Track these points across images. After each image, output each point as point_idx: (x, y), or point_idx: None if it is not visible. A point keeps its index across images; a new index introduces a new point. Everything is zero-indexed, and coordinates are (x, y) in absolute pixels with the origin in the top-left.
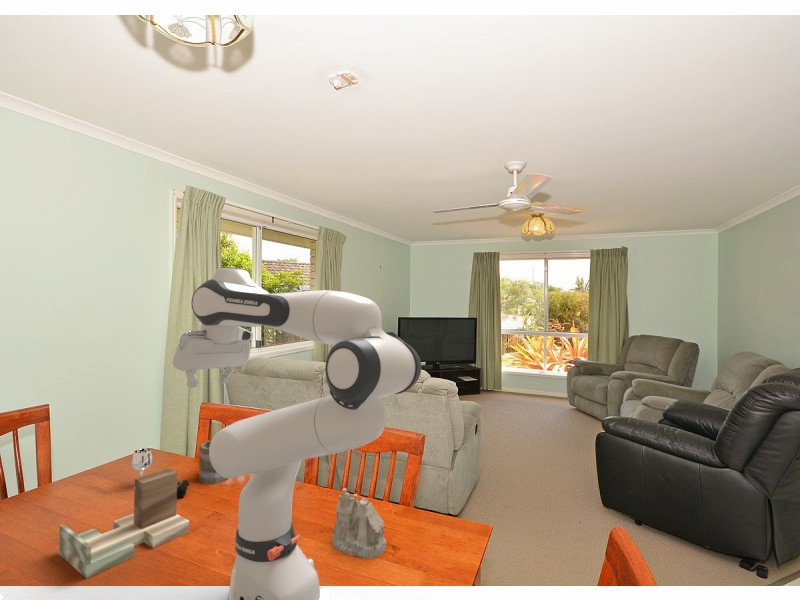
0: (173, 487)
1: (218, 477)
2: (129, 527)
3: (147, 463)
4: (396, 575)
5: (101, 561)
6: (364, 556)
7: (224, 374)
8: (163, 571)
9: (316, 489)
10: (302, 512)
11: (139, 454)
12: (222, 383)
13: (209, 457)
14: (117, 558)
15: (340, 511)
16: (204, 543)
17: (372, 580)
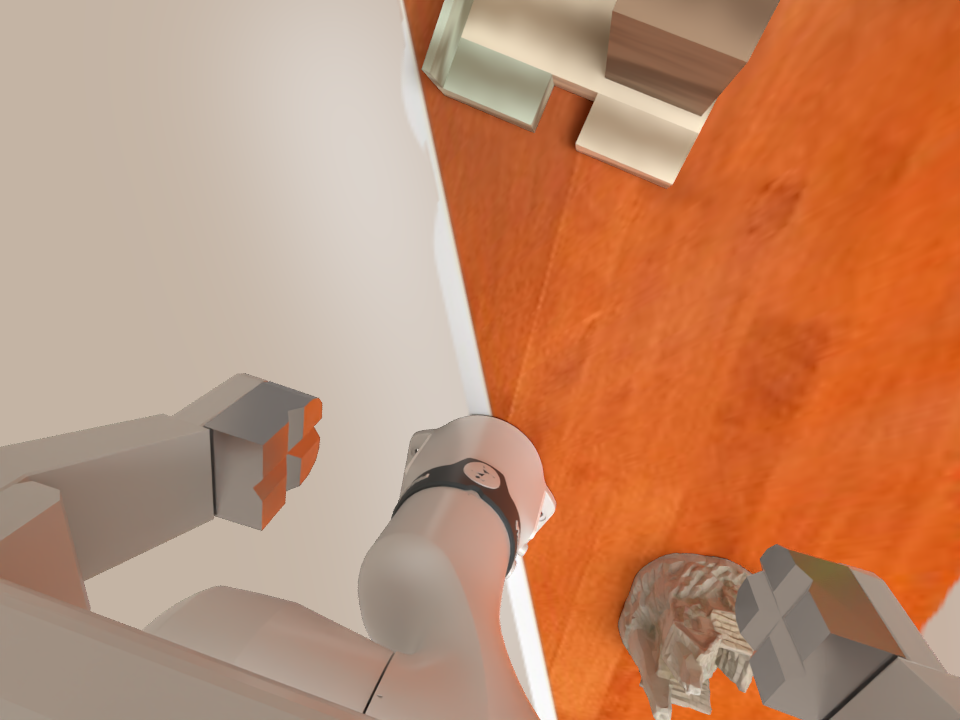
0: (715, 79)
1: None
2: (607, 29)
3: None
4: (574, 676)
5: (464, 98)
6: (619, 626)
7: (895, 708)
8: (500, 245)
9: None
10: (819, 452)
11: None
12: (738, 593)
13: None
14: (498, 114)
15: (671, 633)
16: (618, 267)
17: (553, 639)
